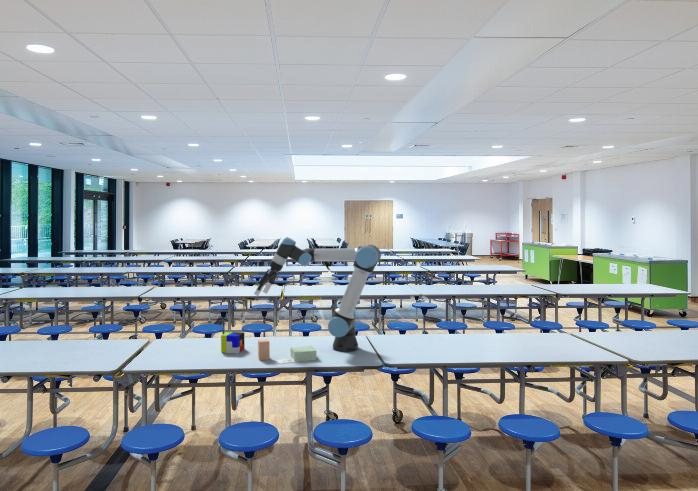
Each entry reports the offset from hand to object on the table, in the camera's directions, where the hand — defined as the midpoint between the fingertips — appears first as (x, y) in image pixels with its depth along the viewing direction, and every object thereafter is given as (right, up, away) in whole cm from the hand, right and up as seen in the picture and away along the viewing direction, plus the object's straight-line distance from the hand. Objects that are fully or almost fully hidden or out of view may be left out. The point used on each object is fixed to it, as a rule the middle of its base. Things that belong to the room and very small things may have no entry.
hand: (260, 293), depth 298 cm
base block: (+26, -34, -15) cm, 45 cm away
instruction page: (+18, -34, -22) cm, 44 cm away
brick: (+5, -34, -16) cm, 38 cm away
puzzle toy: (-16, -33, +1) cm, 37 cm away
